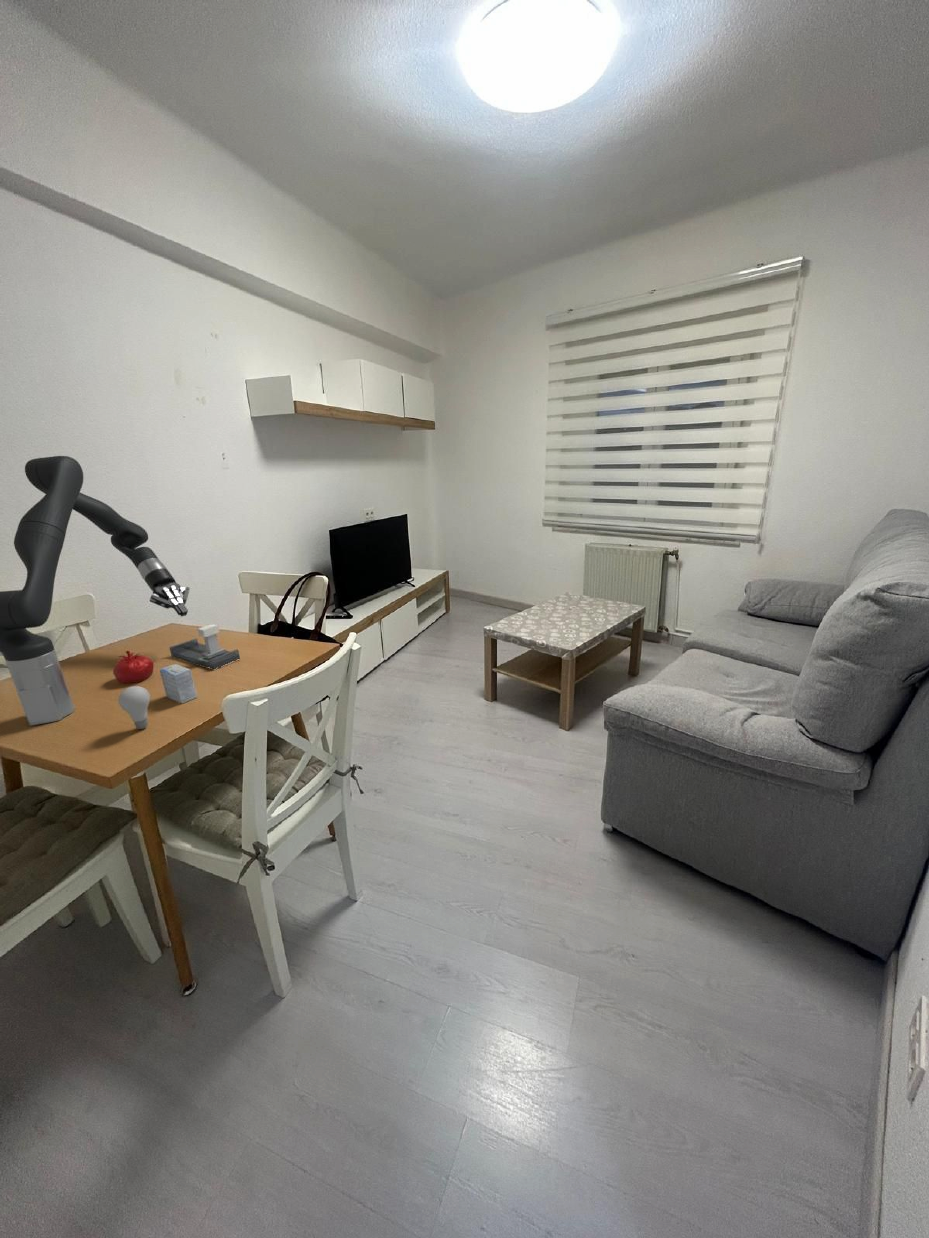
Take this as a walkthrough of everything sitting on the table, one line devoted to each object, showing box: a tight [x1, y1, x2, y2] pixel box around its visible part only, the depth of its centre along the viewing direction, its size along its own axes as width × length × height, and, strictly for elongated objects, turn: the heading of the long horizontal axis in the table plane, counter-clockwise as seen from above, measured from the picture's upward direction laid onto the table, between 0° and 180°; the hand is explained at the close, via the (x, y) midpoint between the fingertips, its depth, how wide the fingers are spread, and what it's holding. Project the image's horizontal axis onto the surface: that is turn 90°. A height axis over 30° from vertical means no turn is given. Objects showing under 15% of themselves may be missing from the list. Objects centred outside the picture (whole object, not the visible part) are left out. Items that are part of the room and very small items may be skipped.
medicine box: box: [159, 663, 198, 704], centre depth 126 cm, size 8×4×9 cm, turn 58°
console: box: [168, 638, 241, 670], centre depth 154 cm, size 24×9×4 cm, turn 60°
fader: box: [197, 623, 227, 659], centre depth 149 cm, size 4×6×9 cm, turn 150°
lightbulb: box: [118, 685, 151, 730], centre depth 111 cm, size 6×6×11 cm
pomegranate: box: [112, 650, 155, 684], centre depth 139 cm, size 10×10×9 cm
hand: (184, 614), depth 153 cm, fingers closed
